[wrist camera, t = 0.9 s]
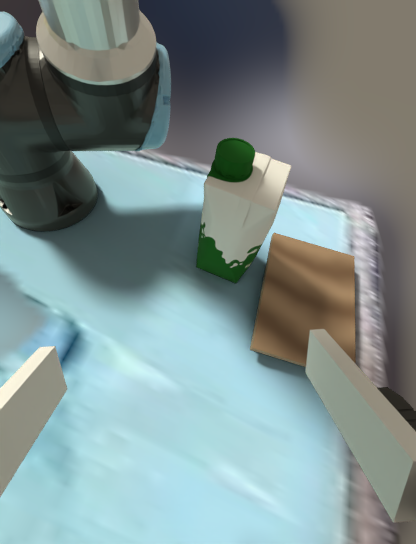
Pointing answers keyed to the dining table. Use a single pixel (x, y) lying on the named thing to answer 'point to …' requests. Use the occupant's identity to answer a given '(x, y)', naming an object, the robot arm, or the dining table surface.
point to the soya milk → (238, 207)
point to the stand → (304, 299)
